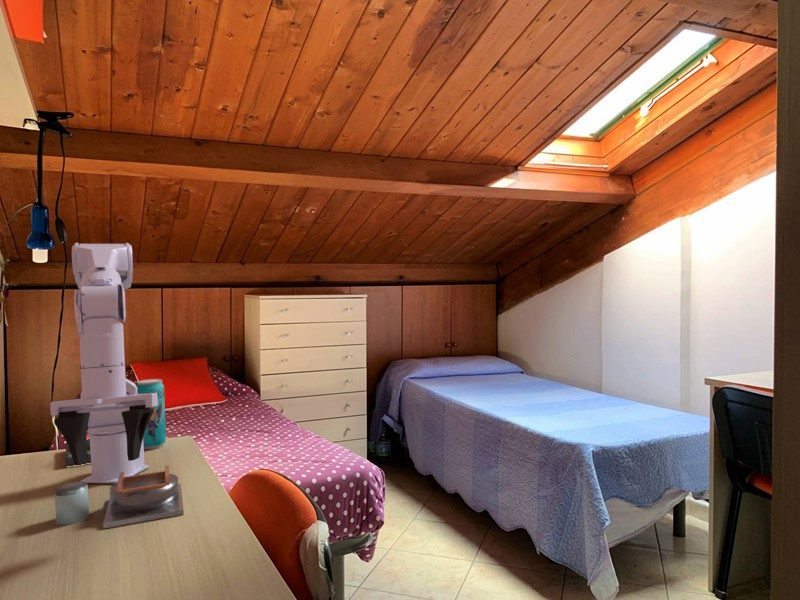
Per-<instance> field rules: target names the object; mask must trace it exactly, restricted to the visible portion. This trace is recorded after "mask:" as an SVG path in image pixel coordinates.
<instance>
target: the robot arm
mask: <svg viewBox="0 0 800 600" xmlns="http://www.w3.org/2000/svg"><path fill="white" fill-rule="evenodd" d="M132 247H133V246H132V245H131V244H130V243H128V242H125V243H79V242H74V244H73V245H72V246H71V265H72V272H73V275H74V280H75V283H76V285H77V288H78V289H79V290H76V289H75V291H74V296H73V299H74V300H73V303H74V304H73V305H74V317H75V322H76V325H77V336H78V337H79V339H80V340H79V353H80V379H81V380H80V383H81V392H80V398H77V399H67V400H58V401H56V400H55V401H51V402H50V416H52V417H53V416H58V417H57V418H54V419H53V424H54V426H55V427H56V428H57V429H58V431H59V432H60V434H61V435H62V437H63V438H64V441H65V442H66V443H67V445H68V447H69V450H70V452H71V455H72V459H73V462H74V465H81V464H83V463H86V462H87V440H88V438H87V437H88V436H89V439H90V450H91V464H90V468H91V475H89V476H87V477H85V478H83V479H81V480H80V482H86V483H87V484H115V483H117V482H118V479H119V474H120V472H124V477H126V476H133V475H138V474H139V473H141V472H142V471H144V470H146V469H148V468H149V464H145V453H144V452H145V450H144V445H143V436H144V433H145V430H146V428H147V425H148V423H149V420H150V418H151V416H152V414H153V412H154V409H153V408H151V407H154V406H158V397H157V393H146V394H138V392H137V385H136V383H135V382H133V381H131V380H129V379H128V378H127V377H126V361H125V360H126V357H125V338H124V335H125V333H124V324H123V323H125V322H126V317H127V315H126V314H127V313H126V312H127V310H126V293H125V290H127V289H129V288H131V287H132V283H133V274H134V266H133V265H134V263H133V262H134V261H133V260H134V259H133V258H134V257H133V248H132ZM120 320H121V321H122V322H123V323H122V322H120ZM66 443H65V444H66Z"/></svg>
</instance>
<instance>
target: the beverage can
mask: <svg viewBox="0 0 800 600" xmlns="http://www.w3.org/2000/svg"><path fill="white" fill-rule="evenodd" d="M136 383H137V385H136V387H137V392H138V394H146V393H157V397H158V406H154V407H151V408H153V409H154V412H153V414H152V416H151V418H150V420H149V423H148V425H147V428H146V430H145V433H144V436H143V445H144V449H152V450H156V449H160V448H162V447H164V445H165V442H166V439H167V432H166V431H167V429H166V409H165V407H166V406H165V405H166V404H165V386H164V384H163V379H162V378H161V379H160V378H151V379H149V378H148V379H141V380H138V381H137V382H136Z"/></svg>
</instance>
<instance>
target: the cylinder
mask: <svg viewBox="0 0 800 600" xmlns="http://www.w3.org/2000/svg"><path fill="white" fill-rule="evenodd" d="M88 485H89V484H88V483H86V482H81V481H74V482H69V483H64V484H62V485H59V486H57V487H56V488H55V487H54V507H55V509H54V510H55V524H56V525H60V526H66V525H68V526H69V525H73V524H77V523H81V522H83V521H85V520H86V519H88V518H89V517H90V511H89V507H90V506H89V490H88V489H89V488H88Z"/></svg>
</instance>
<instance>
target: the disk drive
mask: <svg viewBox="0 0 800 600" xmlns="http://www.w3.org/2000/svg"><path fill="white" fill-rule="evenodd" d="M86 463H91V450H90V438H87V462H86ZM86 463H83V464H86ZM73 465H74V462H73V459H72V455H71V452H70V450H69V447H68V445H67V443H65V466H73Z"/></svg>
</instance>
